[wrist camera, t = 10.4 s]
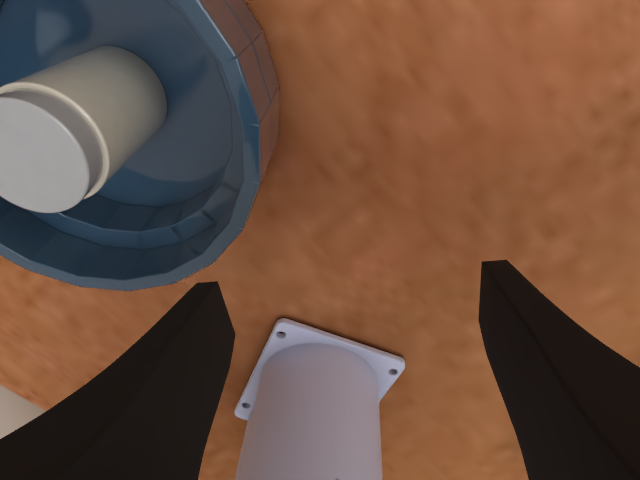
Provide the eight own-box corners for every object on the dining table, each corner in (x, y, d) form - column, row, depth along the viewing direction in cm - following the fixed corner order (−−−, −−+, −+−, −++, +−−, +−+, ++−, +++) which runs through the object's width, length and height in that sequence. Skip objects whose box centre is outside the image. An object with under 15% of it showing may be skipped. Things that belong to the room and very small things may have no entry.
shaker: (158, 155, 20) (86, 234, 15) (67, 121, 20) (-42, 190, 14) (176, 69, 18) (100, 125, 13) (75, 28, 18) (-49, 68, 12)
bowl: (233, 261, 24) (207, 329, 20) (-30, 168, 22) (-120, 223, 18) (329, -2, 17) (320, 18, 13) (-45, -173, 15) (-200, -215, 11)
